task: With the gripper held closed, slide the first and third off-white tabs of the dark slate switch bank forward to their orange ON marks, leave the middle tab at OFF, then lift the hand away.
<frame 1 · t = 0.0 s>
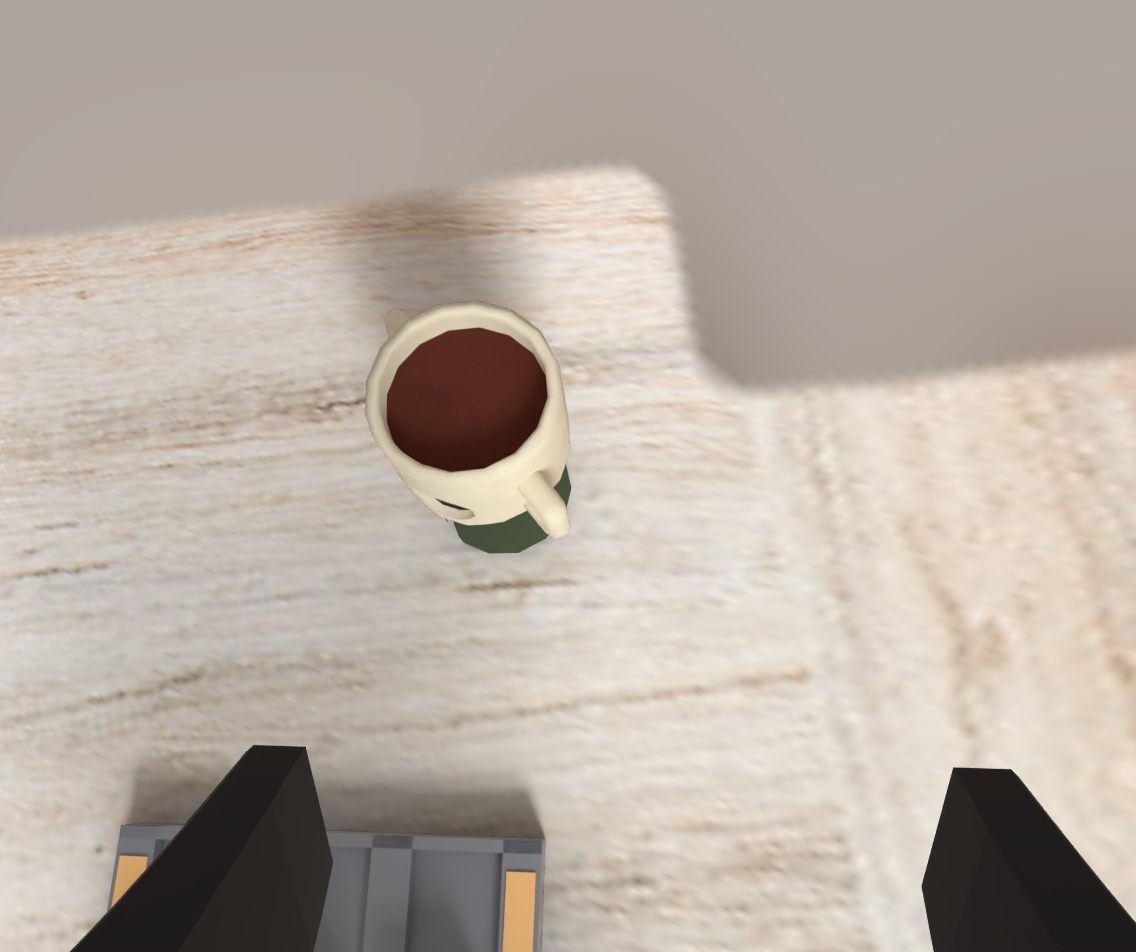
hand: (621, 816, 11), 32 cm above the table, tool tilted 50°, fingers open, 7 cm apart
character mug: (507, 494, 46), on the table
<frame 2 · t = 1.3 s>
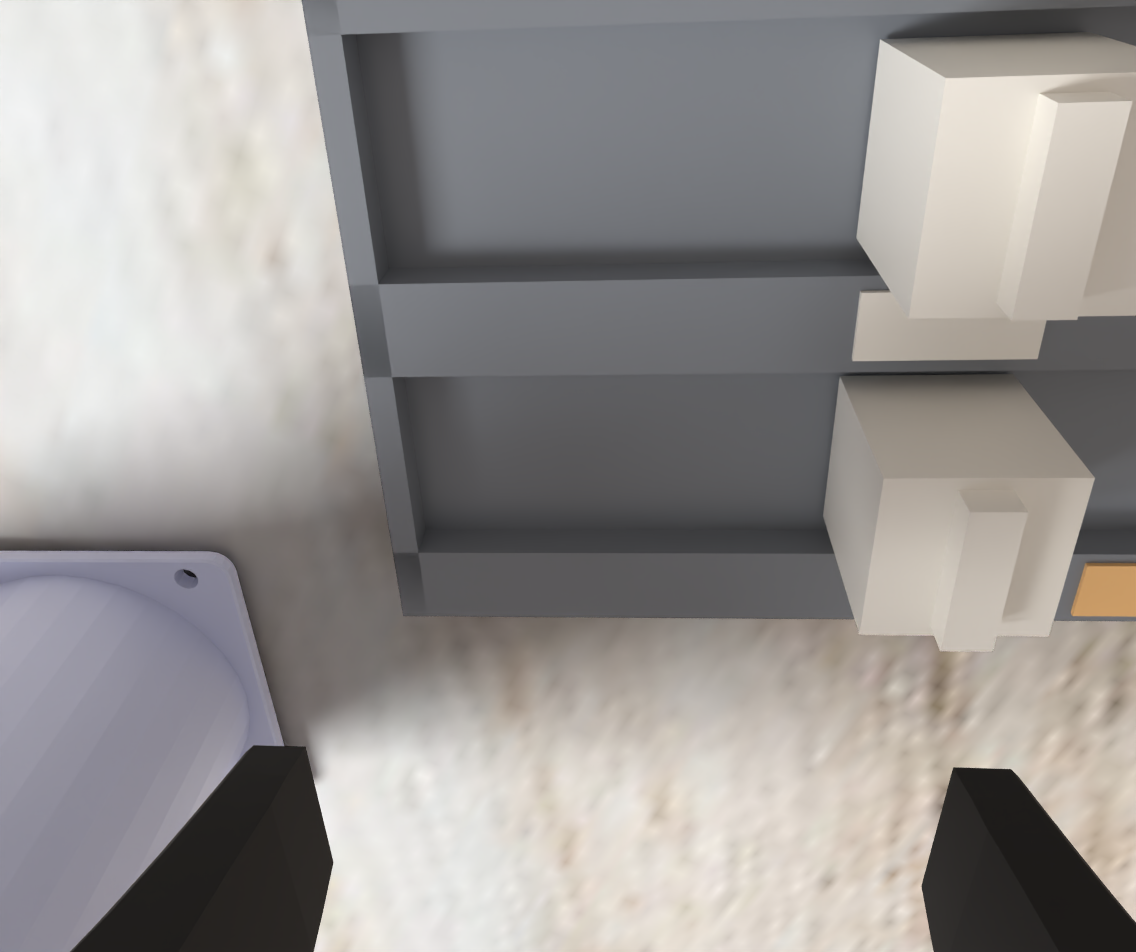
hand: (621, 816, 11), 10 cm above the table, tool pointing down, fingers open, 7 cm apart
switch bank: (872, 128, 16), on the table
tab b: (1010, 174, 13), point 3 cm above the table, slide at 0.0 cm
tab a: (943, 509, 16), point 3 cm above the table, slide at 0.0 cm
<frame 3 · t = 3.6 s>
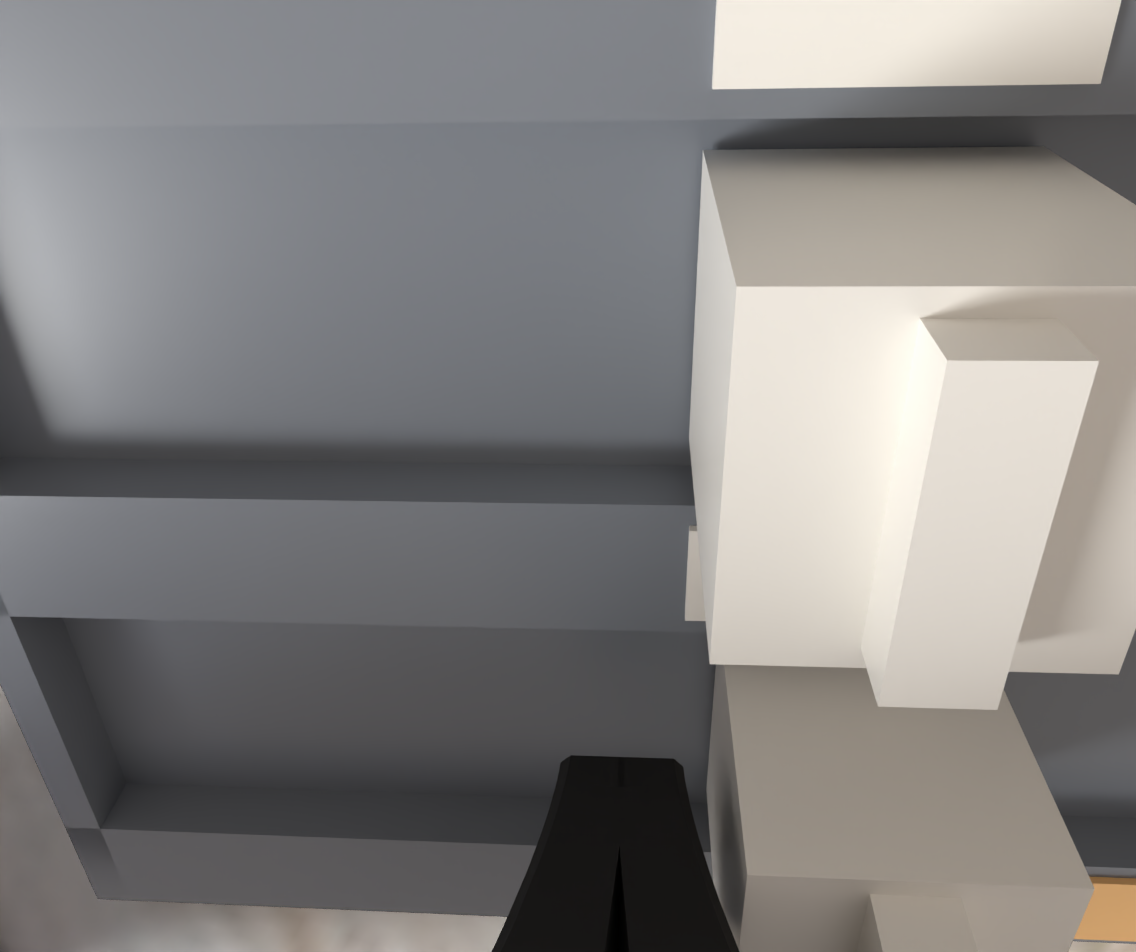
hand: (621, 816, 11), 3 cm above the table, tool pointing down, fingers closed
switch bank: (717, 268, 10), on the table
tab b: (897, 402, 8), point 3 cm above the table, slide at 0.0 cm
tab a: (862, 851, 10), point 3 cm above the table, slide at 0.5 cm, touching gripper
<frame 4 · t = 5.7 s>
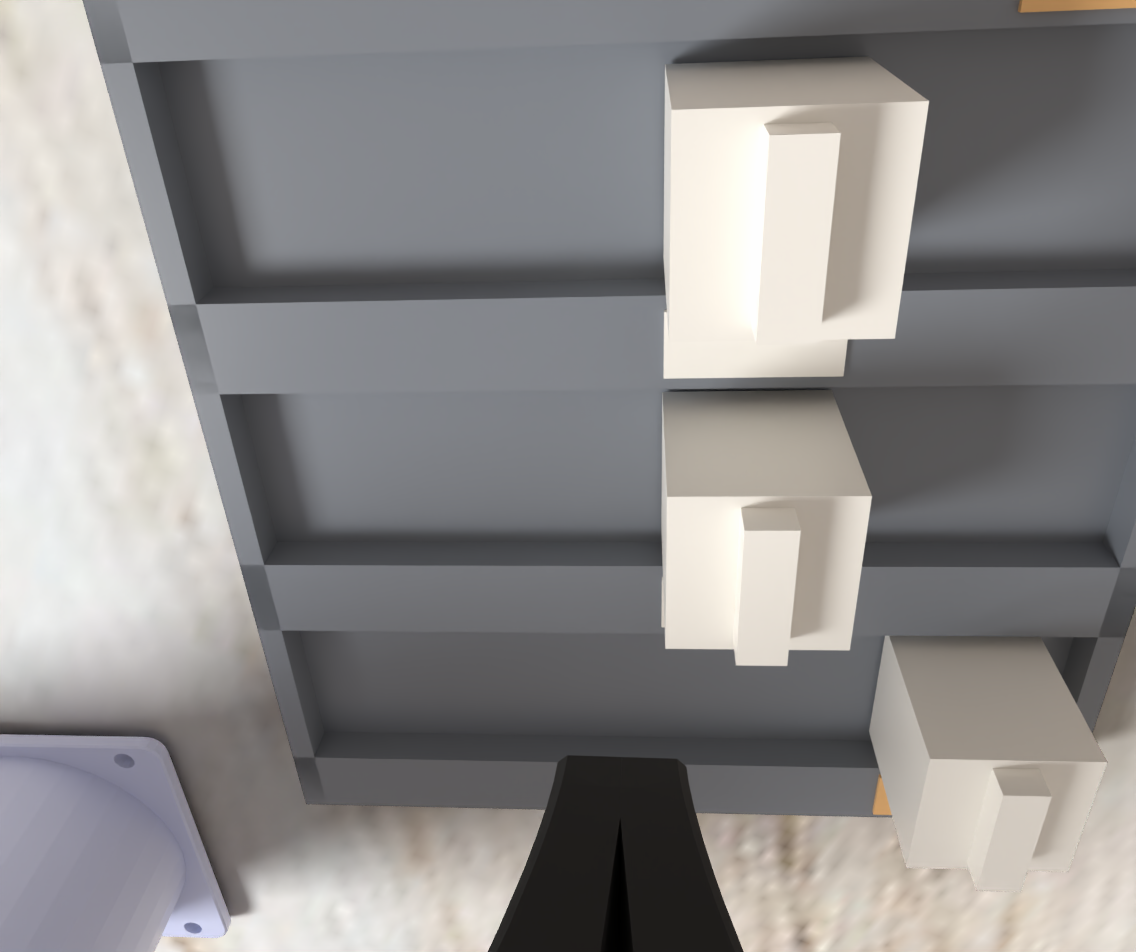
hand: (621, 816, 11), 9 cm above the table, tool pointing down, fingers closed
switch bank: (675, 434, 19), on the table
tab b: (753, 524, 16), point 3 cm above the table, slide at 0.0 cm
tab a: (977, 756, 19), point 3 cm above the table, slide at 4.7 cm
tab c: (775, 198, 13), point 3 cm above the table, slide at 0.0 cm
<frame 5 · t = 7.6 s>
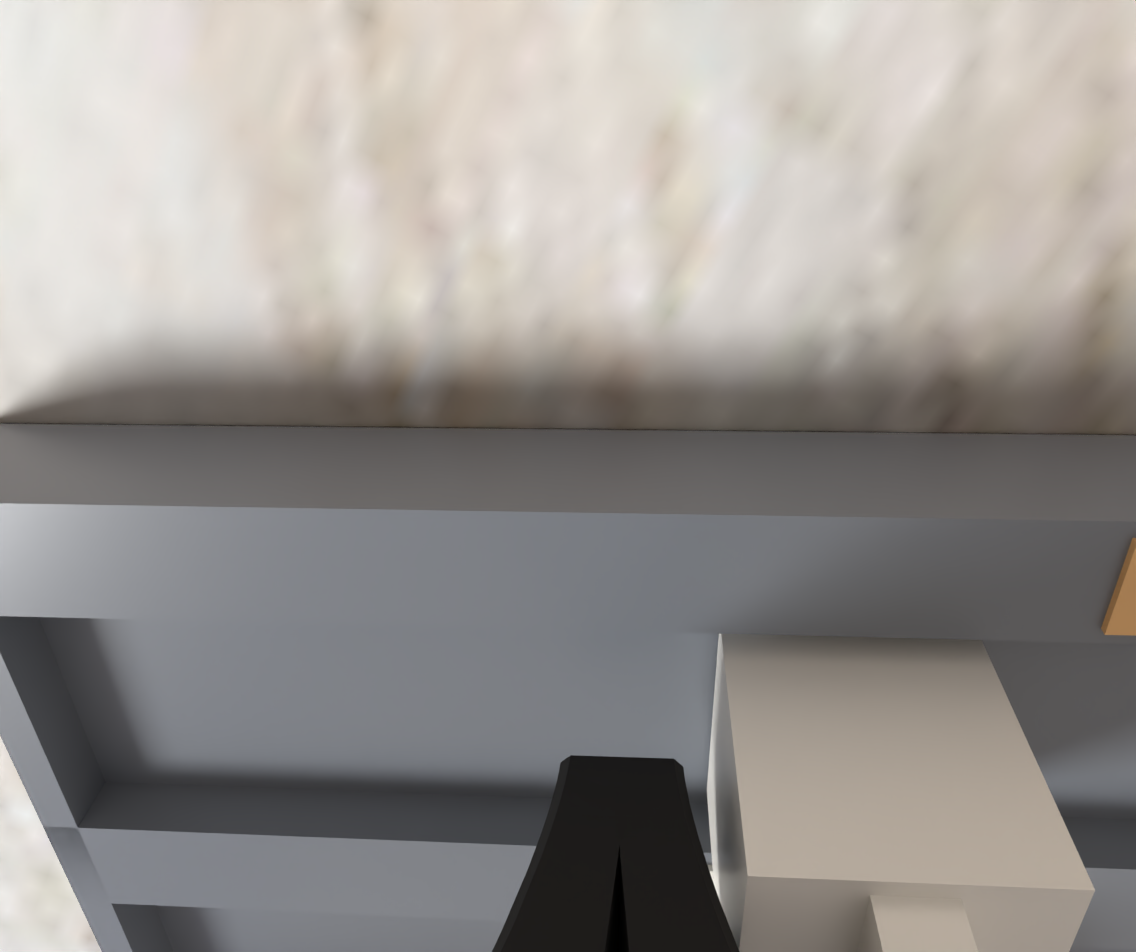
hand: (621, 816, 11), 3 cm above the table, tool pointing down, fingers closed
switch bank: (660, 897, 16), on the table
tab c: (863, 852, 10), point 3 cm above the table, slide at 0.8 cm, touching gripper
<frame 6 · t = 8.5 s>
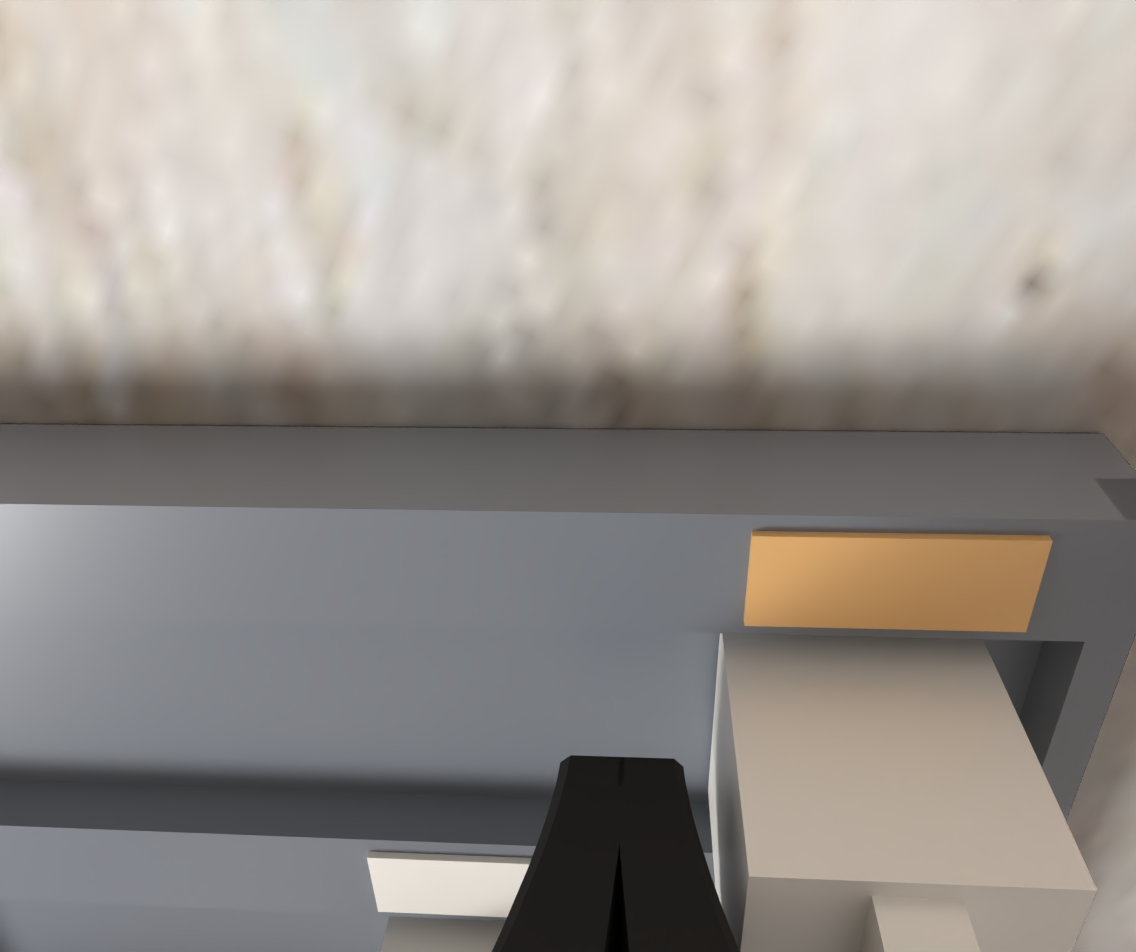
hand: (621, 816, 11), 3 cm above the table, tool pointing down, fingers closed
switch bank: (437, 888, 16), on the table
tab c: (864, 852, 10), point 3 cm above the table, slide at 4.6 cm, touching gripper
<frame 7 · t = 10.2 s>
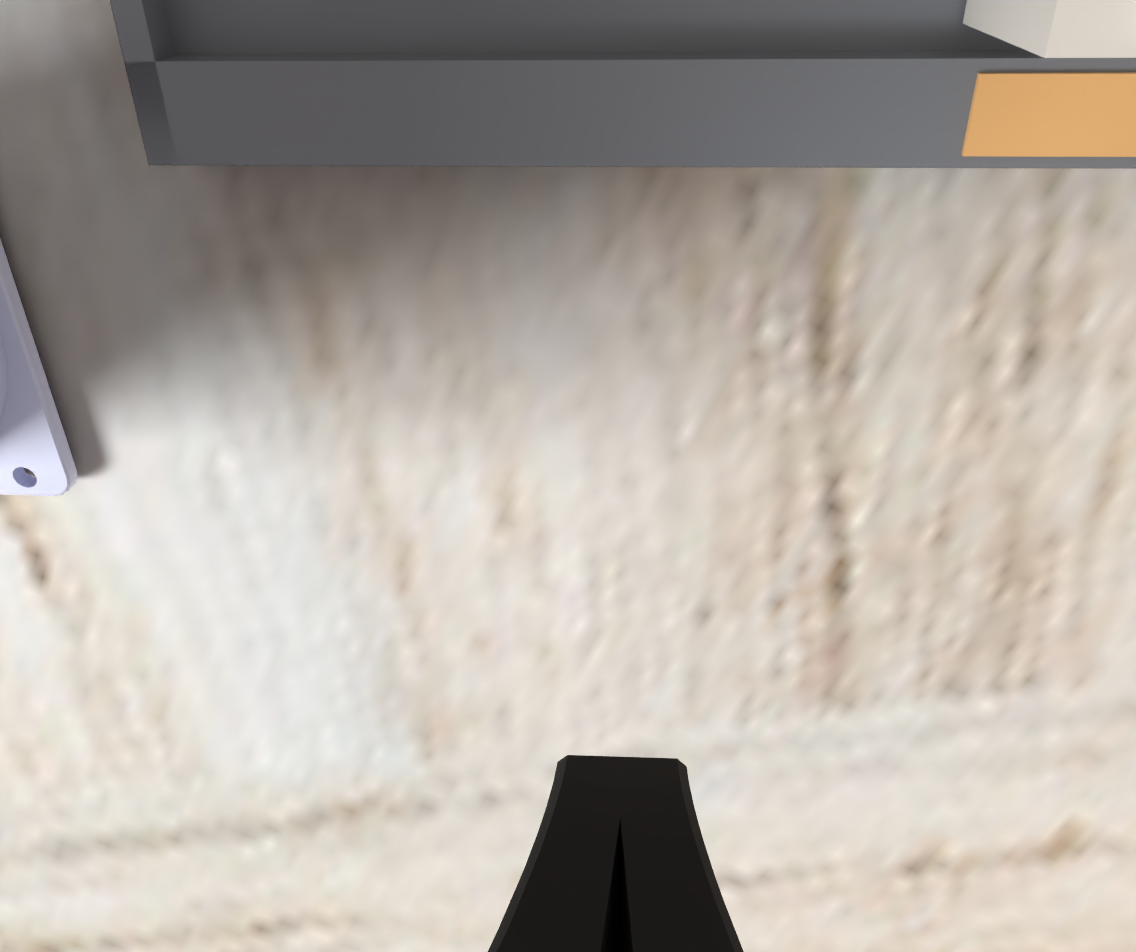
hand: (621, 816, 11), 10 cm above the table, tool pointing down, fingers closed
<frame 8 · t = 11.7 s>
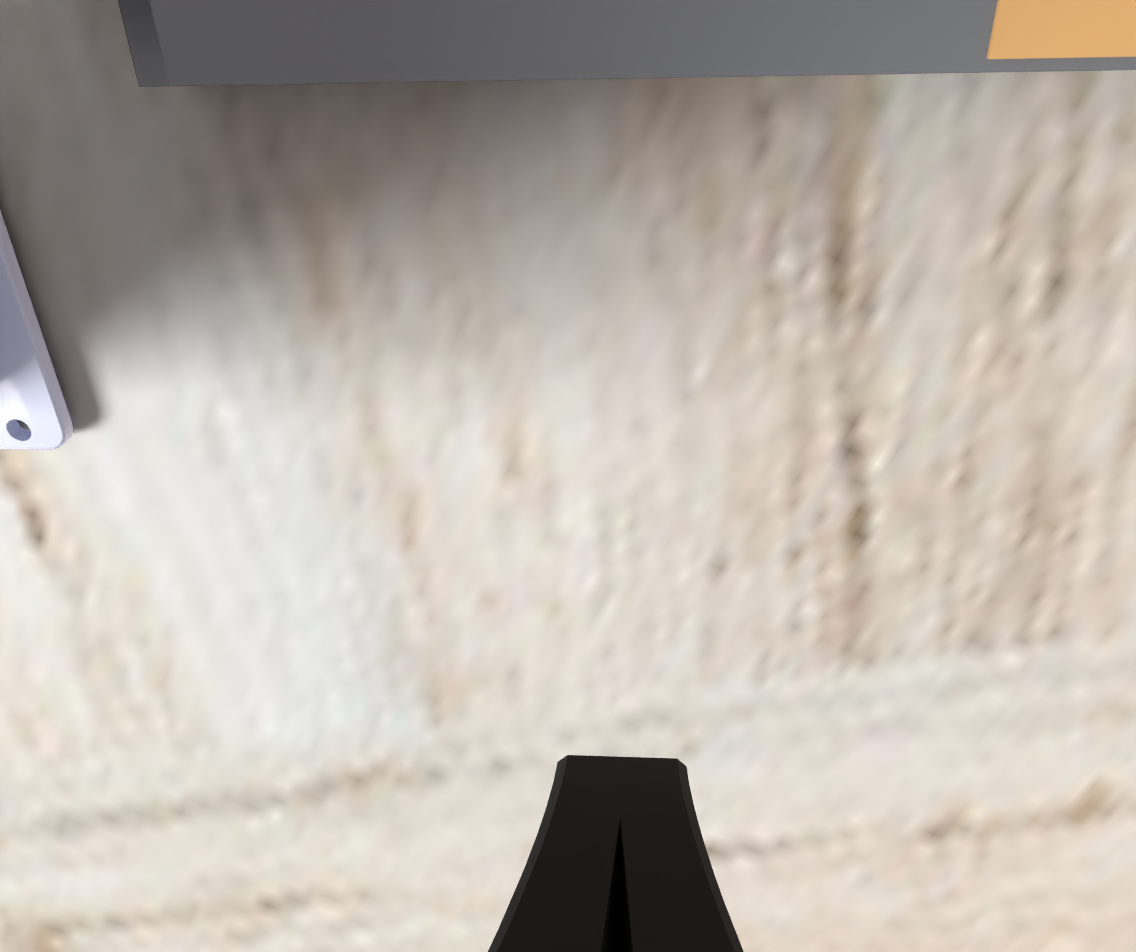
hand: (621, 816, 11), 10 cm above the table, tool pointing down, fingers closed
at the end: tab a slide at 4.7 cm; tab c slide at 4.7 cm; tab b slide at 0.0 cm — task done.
